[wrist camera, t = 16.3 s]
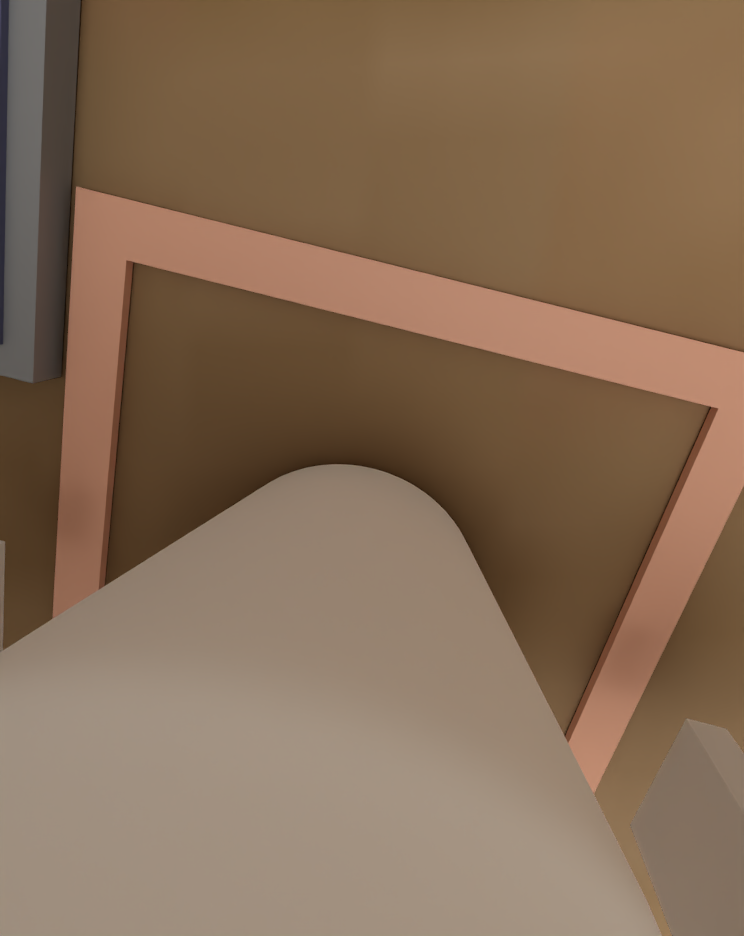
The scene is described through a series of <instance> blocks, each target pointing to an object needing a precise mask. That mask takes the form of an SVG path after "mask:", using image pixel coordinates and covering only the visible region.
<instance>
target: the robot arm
mask: <svg viewBox="0 0 744 936" xmlns="http://www.w3.org/2000/svg"><path fill="white" fill-rule="evenodd" d="M4 573H5V542H4V541H1V540H0V652H1V651H3V620H4ZM630 826H631V829H632V832H633V834H634V837H635V839H636V842H637V845H638V847H639V850H640V853H641V855H642V858H643V861H644V863H645V866H646V868H647V871H648V874H649V876H650V879H651V882H652V884H653V887H654V890H655V892H656V895H657V897H658V900H659V903H660V905H661V908H662V911H663V913H664V916H665V919H666V921H667V924H668V926H669V929H670V932H671V934H672V936H744V753H743V752H742V750H741V749H740V747H739V746H738V745H737V743H736V742H735V740H734V739H733V737H732V736H731V734H730V733H729V731H728V730H727V729H726V728H722V727H718V726H714V725H710V724H707V723H703V722H699V721H695V720H691V719H687V718H686V720H685V721H684V723H683V725H682V727H681V729H680V731H679V733H678V735H677V737H676V739H675V740H674V742H673V744H672V746H671V748H670V750H669V752H668V754H667V756H666V757H665V759H664V761H663V763H662V765H661V767H660V769H659V771H658V773H657V775H656V776H655V778H654V780H653V782H652V784H651V786H650V788H649V790H648V792H647V794H646V795H645V797H644V799H643V801H642V803H641V805H640V807H639V809H638V811H637V812H636V814H635V816H634V818H633V820H632V822H631V824H630Z"/></svg>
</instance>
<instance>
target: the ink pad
mask: <svg viewBox="0 0 744 936" xmlns="http://www.w3.org/2000/svg"><path fill="white" fill-rule="evenodd" d="M80 5H81V0H0V375H2V376H6V377H10V378H14V379H17V380H21V381H25V382H29V383H37V382H41V381H45V380H49V379H53V378H58V377H61V370H62V351H63V332H64V312H65V293H66V274H67V255H68V235H69V216H70V197H71V178H72V159H73V139H74V120H75V101H76V82H77V62H78V43H79V24H80Z"/></svg>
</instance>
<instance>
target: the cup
mask: <svg viewBox="0 0 744 936" xmlns="http://www.w3.org/2000/svg"><path fill="white" fill-rule="evenodd" d="M0 936H662V935H661V933H660V930H659V928H658V925H657V923H656V921H655V918H654V916H653V914H652V911H651V909H650V907H649V904H648V902H647V900H646V898H645V896H644V894H643V892H642V890H641V888H640V886H639V884H638V882H637V880H636V878H635V876H634V874H633V872H632V870H631V868H630V866H629V864H628V862H627V860H626V858H625V856H624V854H623V852H622V850H621V848H620V846H619V844H618V842H617V840H616V838H615V836H614V834H613V832H612V830H611V828H610V826H609V824H608V822H607V820H606V818H605V816H604V814H603V812H602V810H601V808H600V806H599V804H598V802H597V800H596V798H595V796H594V794H593V792H592V790H591V788H590V786H589V784H588V782H587V780H586V778H585V776H584V774H583V772H582V770H581V768H580V766H579V764H578V762H577V760H576V758H575V756H574V754H573V752H572V750H571V748H570V746H569V744H568V742H567V740H566V738H565V736H564V734H563V732H562V730H561V728H560V726H559V724H558V722H557V720H556V718H555V716H554V714H553V712H552V710H551V708H550V706H549V704H548V702H547V701H546V699H545V697H544V695H543V693H542V691H541V689H540V687H539V685H538V683H537V681H536V679H535V677H534V675H533V673H532V671H531V669H530V667H529V665H528V663H527V661H526V659H525V657H524V655H523V653H522V651H521V649H520V647H519V645H518V643H517V641H516V639H515V637H514V635H513V633H512V631H511V629H510V627H509V625H508V623H507V621H506V619H505V617H504V615H503V614H502V612H501V610H500V608H499V606H498V604H497V602H496V600H495V598H494V596H493V594H492V592H491V590H490V588H489V586H488V584H487V582H486V580H485V578H484V576H483V574H482V572H481V570H480V568H479V566H478V564H477V562H476V560H475V558H474V556H473V554H472V552H471V550H470V548H469V546H468V544H467V542H466V541H465V539H464V537H463V535H462V533H461V531H460V530H459V528H458V527H457V525H456V524H455V522H454V521H453V519H452V518H451V517H450V516H449V515H448V514H447V512H446V511H445V510H444V509H443V508H442V507H441V506H440V505H439V504H438V503H437V502H436V501H435V500H434V499H432V498H431V497H430V496H429V495H427V494H426V493H425V492H423V491H422V490H420V489H419V488H417V487H416V486H414V485H413V484H411V483H409V482H407V481H405V480H403V479H401V478H399V477H397V476H394V475H392V474H389V473H387V472H383V471H380V470H377V469H373V468H368V467H363V466H357V465H348V464H330V465H319V466H313V467H307V468H303V469H300V470H296V471H293V472H290V473H288V474H285V475H283V476H281V477H279V478H277V479H275V480H273V481H271V482H269V483H268V484H266V485H265V486H263V487H261V488H260V489H258V490H257V491H255V492H253V493H252V494H250V495H249V496H247V497H245V498H244V499H242V500H241V501H239V502H237V503H236V504H234V505H233V506H231V507H230V508H228V509H226V510H225V511H223V512H222V513H220V514H218V515H217V516H215V517H214V518H212V519H210V520H209V521H207V522H206V523H204V524H202V525H201V526H199V527H198V528H196V529H195V530H193V531H191V532H190V533H188V534H187V535H185V536H183V537H182V538H180V539H179V540H177V541H175V542H174V543H172V544H171V545H169V546H168V547H166V548H164V549H163V550H161V551H160V552H158V553H156V554H155V555H153V556H152V557H150V558H148V559H147V560H145V561H144V562H142V563H140V564H139V565H137V566H136V567H134V568H133V569H131V570H129V571H128V572H126V573H125V574H123V575H121V576H120V577H118V578H117V579H115V580H113V581H112V582H110V583H109V584H107V585H106V586H104V587H102V588H101V589H99V590H98V591H96V592H94V593H93V594H91V595H90V596H88V597H86V598H85V599H83V600H82V601H80V602H79V603H77V604H75V605H74V606H72V607H71V608H69V609H67V610H66V611H64V612H63V613H61V614H59V615H58V616H56V617H55V618H53V619H52V620H50V621H48V622H47V623H45V624H44V625H42V626H41V627H39V628H37V629H36V630H34V631H33V632H31V633H30V634H28V635H27V636H25V637H23V638H22V639H20V640H19V641H17V642H16V643H14V644H12V645H11V646H9V647H8V648H6V649H5V650H3V651H1V652H0Z"/></svg>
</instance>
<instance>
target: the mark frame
mask: <svg viewBox="0 0 744 936" xmlns="http://www.w3.org/2000/svg"><path fill="white" fill-rule="evenodd" d="M133 262H136V263H140V264H144V265H148V266H152V267H156V268H160V269H164V270H168V271H172V272H176V273H180V274H184V275H188V276H192V277H196V278H200V279H204V280H208V281H212V282H216V283H220V284H224V285H228V286H232V287H236V288H240V289H244V290H248V291H252V292H256V293H260V294H264V295H268V296H272V297H276V298H280V299H284V300H288V301H292V302H295V303H299V304H303V305H307V306H311V307H315V308H319V309H323V310H327V311H331V312H335V313H339V314H343V315H347V316H351V317H355V318H359V319H363V320H367V321H371V322H375V323H379V324H383V325H387V326H391V327H395V328H399V329H403V330H407V331H411V332H415V333H419V334H423V335H427V336H431V337H435V338H439V339H443V340H447V341H451V342H455V343H459V344H463V345H467V346H471V347H475V348H479V349H483V350H487V351H491V352H495V353H499V354H503V355H507V356H511V357H515V358H519V359H523V360H527V361H531V362H535V363H539V364H543V365H547V366H551V367H555V368H559V369H563V370H567V371H571V372H575V373H579V374H583V375H587V376H591V377H595V378H599V379H603V380H607V381H611V382H615V383H619V384H623V385H627V386H631V387H635V388H639V389H643V390H647V391H651V392H655V393H659V394H663V395H667V396H671V397H675V398H679V399H683V400H687V401H691V402H695V403H699V404H703V405H707V406H711V409H710V411H709V413H708V415H707V418H706V420H705V422H704V424H703V427H702V429H701V431H700V433H699V436H698V438H697V440H696V442H695V445H694V447H693V449H692V451H691V454H690V456H689V458H688V460H687V463H686V465H685V467H684V469H683V472H682V474H681V476H680V478H679V481H678V483H677V485H676V487H675V490H674V492H673V494H672V496H671V499H670V501H669V503H668V505H667V508H666V510H665V512H664V514H663V517H662V519H661V521H660V523H659V526H658V528H657V530H656V532H655V535H654V537H653V539H652V541H651V544H650V546H649V548H648V550H647V553H646V555H645V557H644V560H643V562H642V564H641V566H640V569H639V571H638V573H637V575H636V578H635V580H634V582H633V584H632V587H631V589H630V591H629V593H628V596H627V598H626V600H625V602H624V605H623V607H622V609H621V611H620V614H619V616H618V618H617V620H616V623H615V625H614V627H613V629H612V632H611V634H610V636H609V638H608V641H607V643H606V645H605V647H604V650H603V652H602V654H601V656H600V659H599V661H598V663H597V665H596V668H595V670H594V672H593V674H592V677H591V679H590V681H589V683H588V686H587V688H586V690H585V692H584V695H583V697H582V699H581V701H580V704H579V706H578V708H577V710H576V713H575V715H574V717H573V719H572V722H571V724H570V726H569V728H568V731H567V733H566V735H565V738H566V740H567V742H568V744H569V746H570V748H571V750H572V752H573V754H574V756H575V758H576V760H577V762H578V764H579V766H580V768H581V770H582V772H583V774H584V776H585V778H586V780H587V782H588V784H589V786H590V788H591V790H592V792H593V794H594V792H595V790H596V788H597V786H598V784H599V782H600V780H601V778H602V776H603V774H604V772H605V770H606V768H607V766H608V764H609V761H610V759H611V757H612V755H613V753H614V751H615V749H616V747H617V745H618V743H619V741H620V739H621V737H622V735H623V733H624V731H625V729H626V727H627V724H628V722H629V720H630V718H631V716H632V714H633V712H634V710H635V708H636V706H637V704H638V702H639V700H640V698H641V696H642V694H643V692H644V690H645V687H646V685H647V683H648V681H649V679H650V677H651V675H652V673H653V671H654V669H655V667H656V665H657V663H658V661H659V659H660V657H661V655H662V653H663V651H664V648H665V646H666V644H667V642H668V640H669V638H670V636H671V634H672V632H673V630H674V628H675V626H676V624H677V622H678V620H679V618H680V616H681V614H682V611H683V609H684V607H685V605H686V603H687V601H688V599H689V597H690V595H691V593H692V591H693V589H694V587H695V585H696V583H697V581H698V579H699V577H700V574H701V572H702V570H703V568H704V566H705V564H706V562H707V560H708V558H709V556H710V554H711V552H712V550H713V548H714V546H715V544H716V542H717V540H718V537H719V535H720V533H721V531H722V529H723V527H724V525H725V523H726V521H727V519H728V517H729V515H730V513H731V511H732V509H733V507H734V505H735V503H736V501H737V498H738V496H739V494H740V492H741V490H742V488H743V486H744V352H740V351H736V350H732V349H728V348H724V347H720V346H716V345H712V344H708V343H704V342H700V341H696V340H692V339H688V338H684V337H680V336H675V335H671V334H667V333H663V332H659V331H655V330H651V329H647V328H643V327H639V326H635V325H631V324H627V323H623V322H619V321H615V320H611V319H607V318H603V317H599V316H595V315H591V314H587V313H583V312H579V311H575V310H571V309H567V308H563V307H559V306H555V305H551V304H547V303H543V302H539V301H535V300H531V299H527V298H523V297H519V296H515V295H511V294H507V293H503V292H499V291H495V290H491V289H486V288H482V287H478V286H474V285H470V284H466V283H462V282H458V281H454V280H450V279H446V278H442V277H438V276H434V275H430V274H426V273H422V272H418V271H414V270H410V269H406V268H402V267H398V266H394V265H390V264H386V263H382V262H378V261H374V260H370V259H366V258H362V257H358V256H354V255H350V254H346V253H342V252H338V251H334V250H330V249H326V248H322V247H318V246H314V245H310V244H306V243H302V242H297V241H293V240H289V239H285V238H281V237H277V236H273V235H269V234H265V233H261V232H257V231H253V230H249V229H245V228H241V227H237V226H233V225H229V224H225V223H221V222H217V221H213V220H209V219H205V218H201V217H197V216H193V215H189V214H185V213H181V212H177V211H173V210H169V209H165V208H161V207H157V206H153V205H149V204H145V203H141V202H137V201H133V200H129V199H125V198H121V197H117V196H113V195H108V194H104V193H100V192H96V191H92V190H88V189H84V188H80V187H76V199H75V217H74V235H73V254H72V272H71V290H70V308H69V327H68V345H67V363H66V382H65V400H64V418H63V436H62V455H61V473H60V491H59V509H58V528H57V546H56V564H55V582H54V601H53V618H55V617H56V616H58V615H59V614H61V613H63V612H64V611H66V610H67V609H69V608H71V607H72V606H74V605H75V604H77V603H79V602H80V601H82V600H83V599H85V598H86V597H88V596H90V595H91V594H93V593H94V592H96V591H98V590H99V589H101V588H102V587H104V586H105V576H106V565H107V553H108V542H109V531H110V520H111V508H112V497H113V486H114V474H115V463H116V452H117V441H118V429H119V418H120V407H121V396H122V384H123V373H124V362H125V350H126V339H127V328H128V317H129V305H130V294H131V283H132V272H133Z"/></svg>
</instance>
